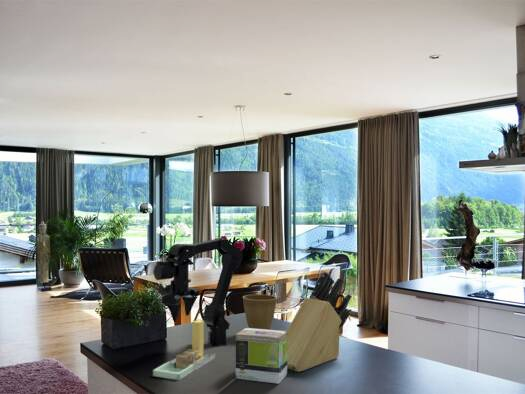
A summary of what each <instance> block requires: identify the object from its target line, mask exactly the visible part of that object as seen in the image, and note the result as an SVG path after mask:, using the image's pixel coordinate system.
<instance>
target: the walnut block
mask: <svg viewBox="0 0 525 394" xmlns="http://www.w3.org/2000/svg"><path fill="white" fill-rule="evenodd" d="M175 358H176V368H180V369H186V368H187V367H188V365H190V364H191V363H192V354H188V353H183V352H181V353H178V354H177V355H175Z"/></svg>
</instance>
